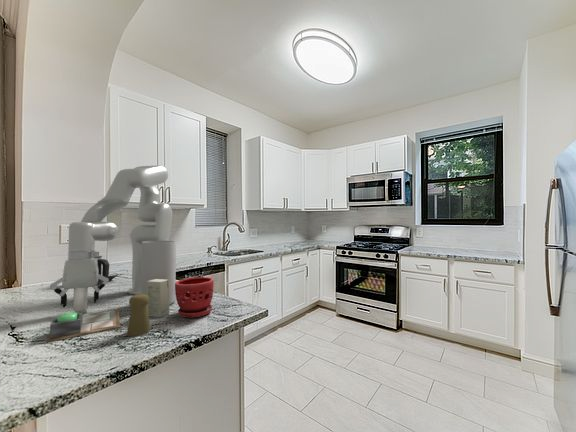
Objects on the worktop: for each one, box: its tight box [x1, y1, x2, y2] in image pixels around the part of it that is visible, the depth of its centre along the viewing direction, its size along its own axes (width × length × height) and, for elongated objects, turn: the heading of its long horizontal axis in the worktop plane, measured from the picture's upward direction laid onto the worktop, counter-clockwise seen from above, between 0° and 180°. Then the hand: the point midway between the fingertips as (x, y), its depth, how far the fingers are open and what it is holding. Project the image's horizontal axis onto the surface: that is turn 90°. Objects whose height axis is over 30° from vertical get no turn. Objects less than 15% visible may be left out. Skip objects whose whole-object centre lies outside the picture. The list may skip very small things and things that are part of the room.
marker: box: [72, 287, 89, 314], centre depth 94 cm, size 4×4×10 cm
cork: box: [126, 294, 151, 337], centre depth 78 cm, size 6×6×11 cm
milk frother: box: [94, 255, 119, 286], centre depth 141 cm, size 14×16×15 cm
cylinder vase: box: [141, 240, 177, 306], centre depth 105 cm, size 12×12×25 cm
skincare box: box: [147, 279, 170, 318], centre depth 92 cm, size 6×4×12 cm
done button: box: [57, 312, 77, 323], centre depth 76 cm, size 4×4×2 cm
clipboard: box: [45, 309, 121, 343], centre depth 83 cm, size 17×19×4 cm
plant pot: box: [175, 276, 214, 319], centre depth 93 cm, size 13×13×12 cm
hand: (80, 304), depth 94 cm, fingers open, 8 cm apart
